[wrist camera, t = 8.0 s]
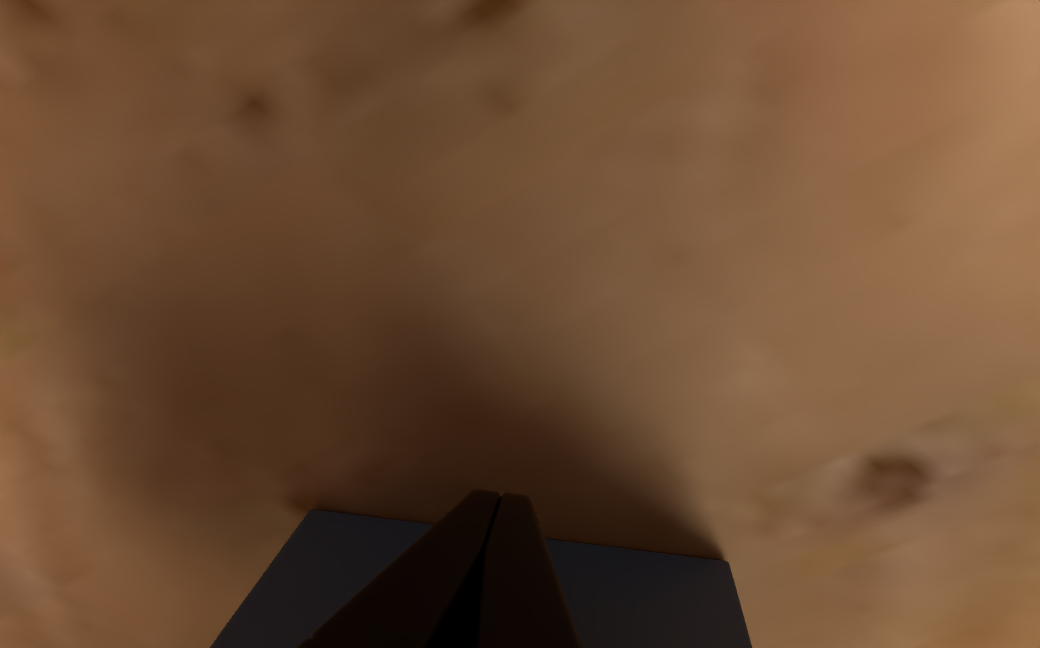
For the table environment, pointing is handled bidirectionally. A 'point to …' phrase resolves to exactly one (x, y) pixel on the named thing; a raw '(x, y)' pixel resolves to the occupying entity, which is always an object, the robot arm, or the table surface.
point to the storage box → (580, 568)
